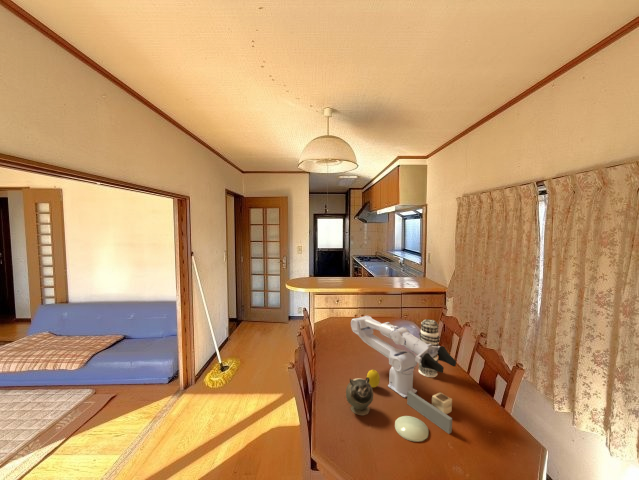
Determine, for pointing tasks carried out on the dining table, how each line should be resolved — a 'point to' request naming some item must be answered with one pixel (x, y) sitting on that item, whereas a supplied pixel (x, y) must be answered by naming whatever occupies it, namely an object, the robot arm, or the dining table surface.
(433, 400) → the cube
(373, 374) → the lemon
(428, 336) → the decorative candle
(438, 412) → the grey rectangular bar
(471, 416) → the dining table surface
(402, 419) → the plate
